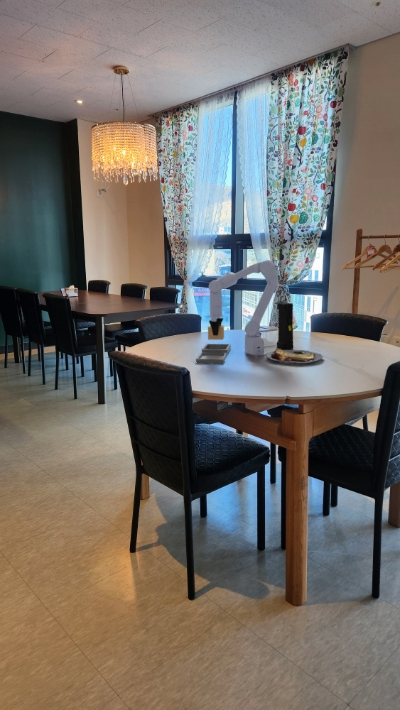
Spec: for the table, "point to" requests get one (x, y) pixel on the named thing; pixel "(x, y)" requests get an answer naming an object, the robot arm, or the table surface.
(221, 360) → the shallow grey tray
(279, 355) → the food plate
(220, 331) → the module
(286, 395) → the table surface
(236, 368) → the table surface
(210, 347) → the case
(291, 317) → the portable radio
